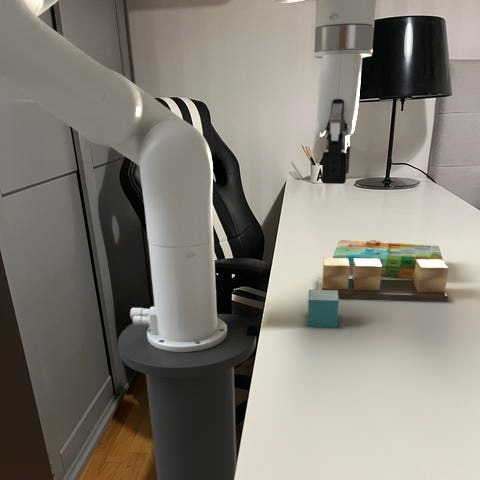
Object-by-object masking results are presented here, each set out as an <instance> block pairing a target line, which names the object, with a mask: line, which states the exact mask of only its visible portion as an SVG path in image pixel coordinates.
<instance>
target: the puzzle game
mask: <svg viewBox="0 0 480 480" xmlns="http://www.w3.org/2000/svg"><path fill="white" fill-rule="evenodd" d="M332 258H348V261H349V266H350V267H349V275H353V261H354V259H379V261H380V263H381V265H382V272H381V277H387V278H390V277H391V278H402V279H403V278H405V279H414V275H415V267H416V260H443V261H444V258H443V256H442V252H441V250H440V246H439V245H431V244H415V243H414V244H413V243H399V242H398V243H397V242H384V241H379V240H376V239H371V240H351V239H350V240H349V239H342V240H339V241H338V242H337V245H336V248H335V250H334V252H333V255H332Z"/></svg>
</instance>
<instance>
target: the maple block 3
mask: <svg viewBox="0 0 480 480" xmlns="http://www.w3.org/2000/svg"><path fill="white" fill-rule="evenodd" d="M448 274H449V266H448V265H447V264H446V263H445V262H444V259H443V260H416V267H415V275H414V278H413V280H414V285H415V287H416V289H417V290H418V292H446V286H447V280H448Z"/></svg>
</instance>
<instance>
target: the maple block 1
mask: <svg viewBox="0 0 480 480" xmlns="http://www.w3.org/2000/svg"><path fill="white" fill-rule="evenodd" d="M349 267H350V266H349V261H348V258H333V257H323V258H322V273H321V278H322V289H340V290H348V281H349V279H350V274H349Z"/></svg>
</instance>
